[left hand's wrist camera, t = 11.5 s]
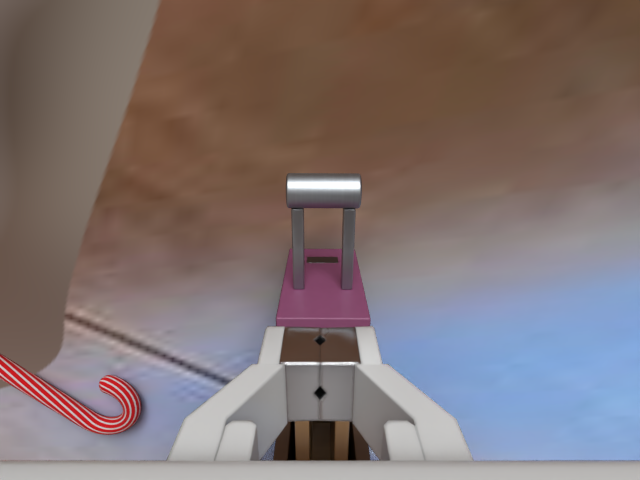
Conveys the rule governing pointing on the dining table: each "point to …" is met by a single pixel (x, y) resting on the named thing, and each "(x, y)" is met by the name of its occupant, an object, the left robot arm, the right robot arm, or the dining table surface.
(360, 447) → the cabinet
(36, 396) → the candy cane
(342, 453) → the drawer
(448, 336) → the dining table surface
